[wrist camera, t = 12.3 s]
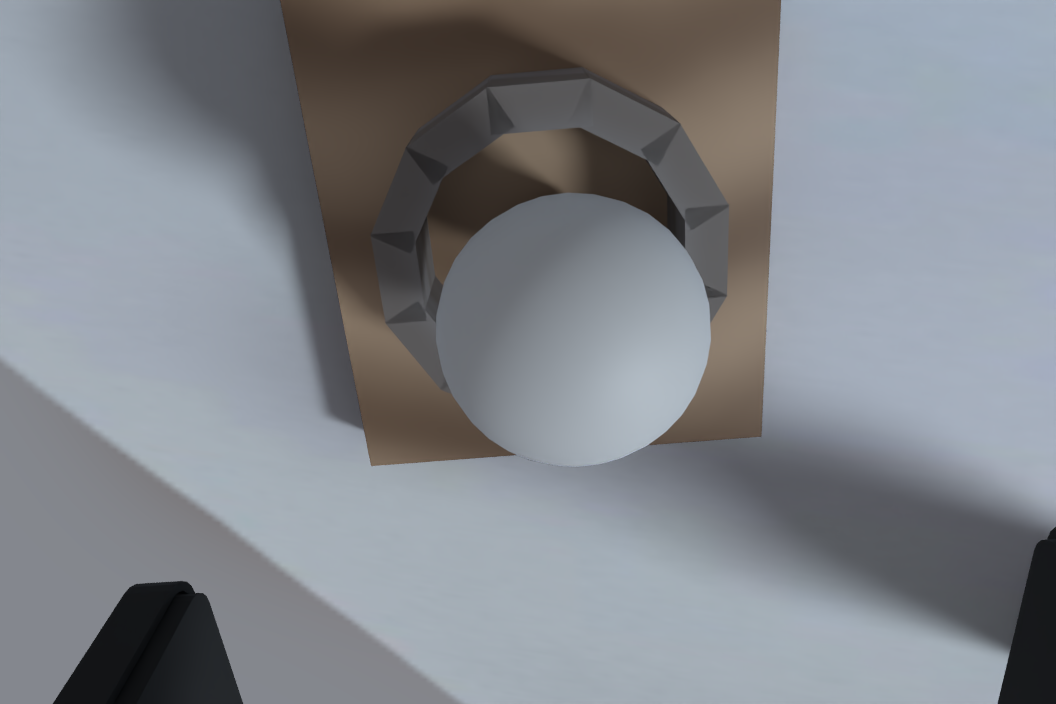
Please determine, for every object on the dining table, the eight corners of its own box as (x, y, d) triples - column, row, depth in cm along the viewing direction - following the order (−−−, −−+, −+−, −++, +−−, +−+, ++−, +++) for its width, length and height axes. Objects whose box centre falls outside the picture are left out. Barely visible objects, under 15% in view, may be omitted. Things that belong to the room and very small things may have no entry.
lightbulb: (449, 306, 26) (406, 505, 16) (473, 116, 24) (440, 214, 14) (631, 332, 27) (697, 540, 17) (674, 149, 24) (781, 266, 14)
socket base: (294, -23, 24) (241, -24, 19) (763, -66, 24) (821, -77, 19) (380, 437, 31) (355, 516, 26) (746, 409, 30) (786, 484, 26)
